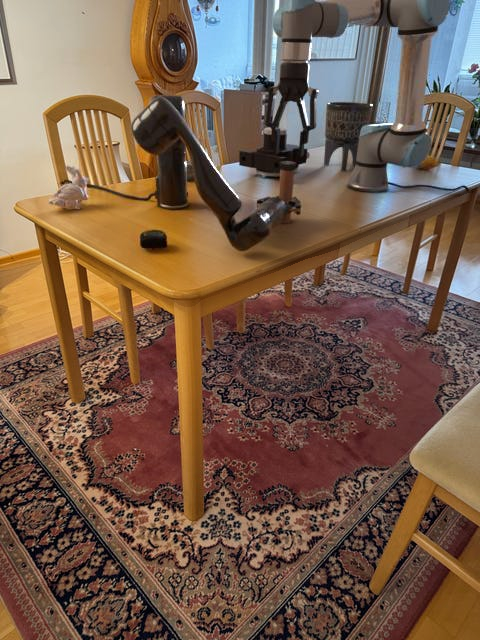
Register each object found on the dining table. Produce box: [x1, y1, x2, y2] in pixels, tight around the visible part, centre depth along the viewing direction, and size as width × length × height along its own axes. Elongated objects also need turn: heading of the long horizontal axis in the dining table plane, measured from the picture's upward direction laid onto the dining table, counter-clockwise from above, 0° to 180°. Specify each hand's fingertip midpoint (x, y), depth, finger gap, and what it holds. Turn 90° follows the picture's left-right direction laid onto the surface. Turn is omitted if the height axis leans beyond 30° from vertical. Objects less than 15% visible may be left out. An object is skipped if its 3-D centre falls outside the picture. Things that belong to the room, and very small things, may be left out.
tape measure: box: [139, 229, 168, 250], centre depth 117 cm, size 7×7×4 cm
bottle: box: [278, 169, 295, 224], centre depth 135 cm, size 4×4×17 cm
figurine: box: [47, 165, 90, 210], centre depth 144 cm, size 8×15×13 cm, turn 145°
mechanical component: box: [238, 124, 311, 178], centre depth 191 cm, size 22×21×30 cm
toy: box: [417, 154, 440, 170], centre depth 211 cm, size 11×6×15 cm
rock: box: [186, 160, 195, 182], centre depth 182 cm, size 13×9×6 cm, turn 131°
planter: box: [323, 101, 374, 172], centre depth 204 cm, size 20×20×26 cm
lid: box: [280, 161, 296, 170], centre depth 131 cm, size 5×5×2 cm
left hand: (287, 199), depth 139 cm, fingers closed on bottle, 4 cm apart
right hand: (288, 154), depth 130 cm, fingers open, 7 cm apart
